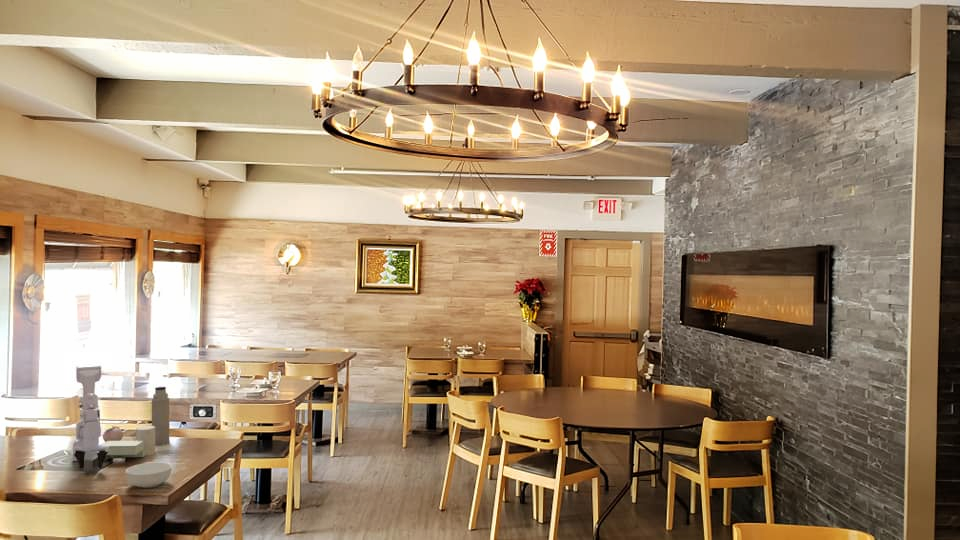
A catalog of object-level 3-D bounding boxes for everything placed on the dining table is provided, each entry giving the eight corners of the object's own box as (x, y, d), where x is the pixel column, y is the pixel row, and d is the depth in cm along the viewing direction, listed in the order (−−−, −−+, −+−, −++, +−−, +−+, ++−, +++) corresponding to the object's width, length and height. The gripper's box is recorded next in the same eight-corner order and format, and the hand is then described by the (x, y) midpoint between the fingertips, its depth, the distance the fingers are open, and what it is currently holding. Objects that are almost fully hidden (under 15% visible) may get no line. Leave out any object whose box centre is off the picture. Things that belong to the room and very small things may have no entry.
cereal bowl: (124, 494, 275) (124, 476, 275) (126, 481, 290) (126, 464, 290) (171, 488, 282) (171, 471, 282) (171, 476, 297) (171, 460, 297)
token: (110, 464, 315) (110, 459, 315) (115, 461, 320) (115, 456, 320) (122, 464, 316) (122, 458, 316) (127, 461, 321) (127, 455, 321)
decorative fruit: (116, 448, 342) (116, 427, 342) (100, 448, 342) (100, 427, 342) (126, 443, 351) (126, 423, 351) (110, 443, 351) (110, 423, 351)
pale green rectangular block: (98, 463, 317) (97, 446, 317) (107, 457, 326) (107, 440, 326) (135, 462, 318) (135, 445, 318) (144, 456, 327) (144, 440, 327)
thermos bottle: (163, 440, 357) (163, 385, 357) (172, 442, 353) (172, 386, 353) (148, 443, 351) (148, 387, 350) (158, 446, 346) (158, 389, 346)
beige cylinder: (147, 455, 329) (147, 430, 329) (132, 454, 331) (132, 429, 331) (158, 451, 337) (158, 426, 337) (143, 450, 339) (143, 425, 338)
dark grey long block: (84, 474, 300) (84, 460, 300) (101, 463, 316) (101, 450, 316) (92, 474, 300) (92, 460, 300) (109, 463, 316) (109, 450, 316)
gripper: (68, 439, 298) (68, 471, 298) (104, 438, 299) (104, 470, 299) (77, 435, 305) (77, 466, 305) (111, 434, 306) (111, 465, 306)
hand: (91, 468), depth 303 cm, fingers open, 7 cm apart
